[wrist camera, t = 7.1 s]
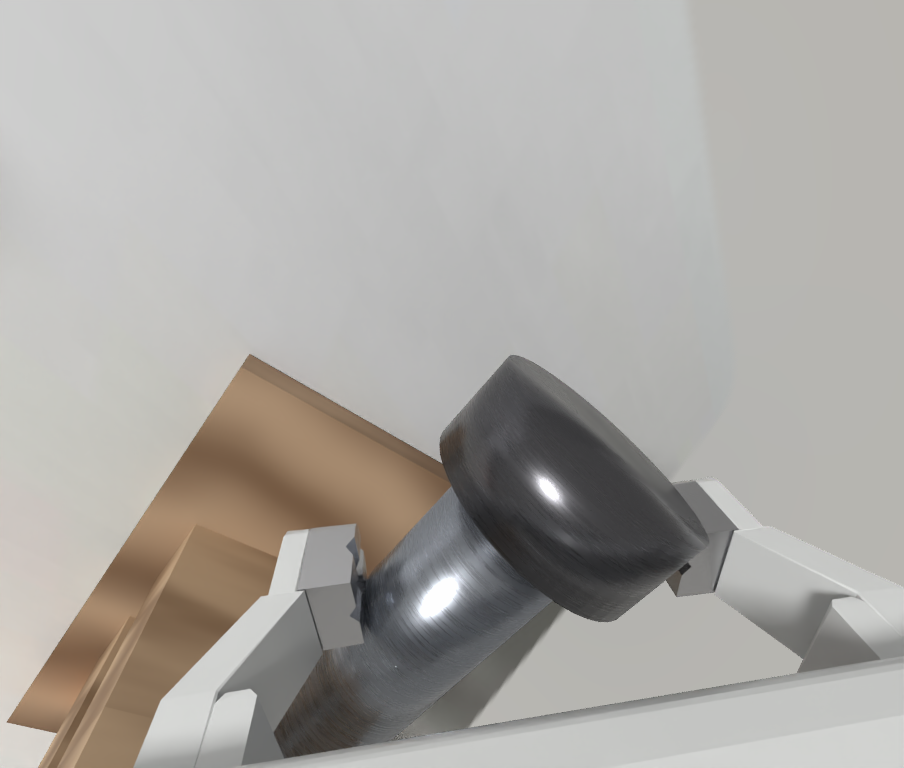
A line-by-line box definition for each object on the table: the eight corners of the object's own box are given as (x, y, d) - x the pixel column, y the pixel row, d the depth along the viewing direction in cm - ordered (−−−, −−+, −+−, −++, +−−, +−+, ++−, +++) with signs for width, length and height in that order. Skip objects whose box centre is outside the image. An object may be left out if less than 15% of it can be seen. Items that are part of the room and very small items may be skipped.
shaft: (177, 860, 19) (119, 1061, 15) (51, 843, 18) (-55, 1064, 13) (627, 430, 12) (759, 590, 8) (486, 325, 10) (556, 457, 6)
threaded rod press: (225, 746, 31) (103, 1201, 18) (21, 699, 26) (-345, 1258, 13) (477, 483, 23) (593, 939, 10) (249, 354, 19) (-81, 865, 6)
